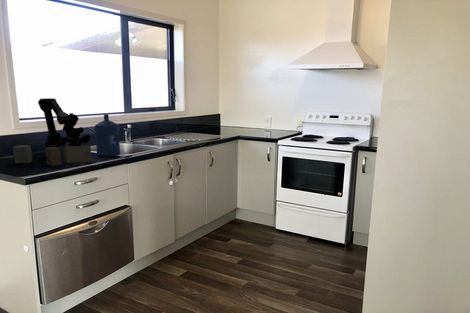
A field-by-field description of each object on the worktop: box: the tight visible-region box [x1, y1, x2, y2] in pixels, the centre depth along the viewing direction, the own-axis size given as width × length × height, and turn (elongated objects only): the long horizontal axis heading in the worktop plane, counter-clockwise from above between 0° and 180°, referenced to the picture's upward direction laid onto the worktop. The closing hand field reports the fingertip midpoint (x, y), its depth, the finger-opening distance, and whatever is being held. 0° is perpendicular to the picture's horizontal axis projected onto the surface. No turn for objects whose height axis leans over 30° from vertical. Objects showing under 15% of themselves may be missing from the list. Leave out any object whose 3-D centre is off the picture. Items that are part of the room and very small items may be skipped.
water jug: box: [94, 113, 121, 157], centre depth 251 cm, size 16×16×28 cm
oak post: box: [45, 147, 62, 167], centre depth 220 cm, size 7×6×10 cm
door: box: [62, 145, 92, 164], centre depth 225 cm, size 16×3×10 cm, turn 105°
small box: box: [12, 144, 33, 164], centre depth 226 cm, size 8×6×10 cm
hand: (80, 150), depth 226 cm, fingers closed
